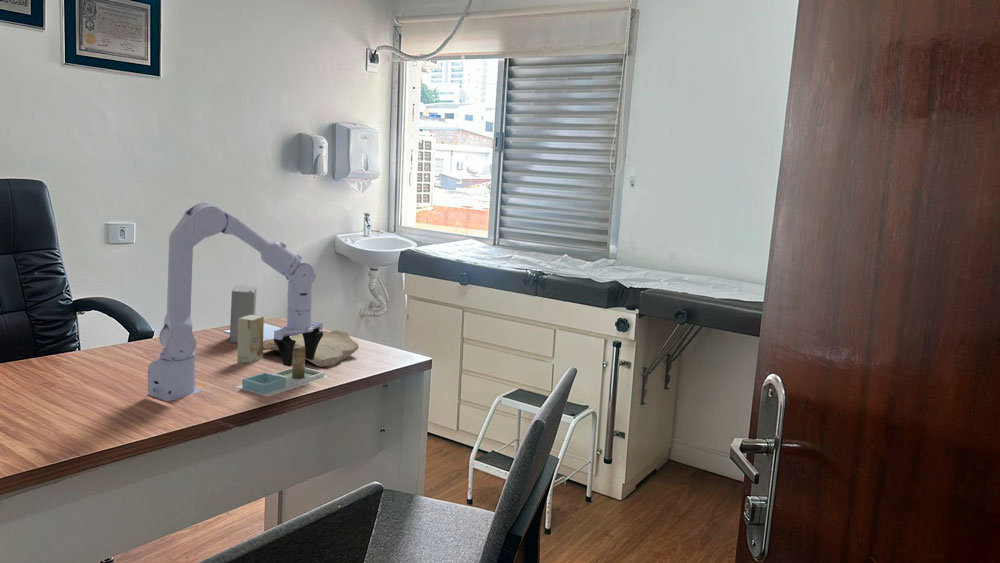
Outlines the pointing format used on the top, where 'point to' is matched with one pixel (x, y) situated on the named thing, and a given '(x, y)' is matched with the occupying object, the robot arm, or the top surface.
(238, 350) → the skincare box
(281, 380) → the teal square tray
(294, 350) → the dowel
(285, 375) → the organizer
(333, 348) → the tan rock slab
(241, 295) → the skincare box
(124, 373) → the top surface
